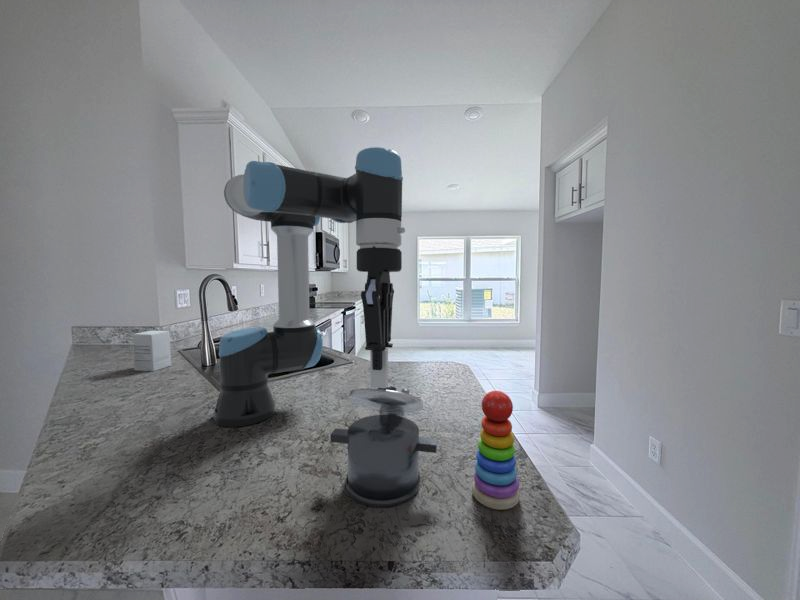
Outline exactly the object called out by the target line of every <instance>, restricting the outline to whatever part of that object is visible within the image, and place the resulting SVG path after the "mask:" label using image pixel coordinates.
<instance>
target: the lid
mask: <svg viewBox="0 0 800 600" xmlns="http://www.w3.org/2000/svg"><path fill="white" fill-rule="evenodd" d="M347 401H348V402H350V403H351V404H353V405H356V406H359V407H362V408H367V409H371V410H376V411H379V415H396V416H401V417H404V418H405V413H414V412H415V413H416V412H419V411H421V410H423V406H424V401H423V400H422V399H421V398H420V397H418V396H416V395H413V394H410V390H409V389H406V388H405V389H404V388H403V389H401V391H397V388H396V387H395V386H390V385H388V386H387V388H357V389H352V390H350V391H349V392H348V395H347Z"/></svg>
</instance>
